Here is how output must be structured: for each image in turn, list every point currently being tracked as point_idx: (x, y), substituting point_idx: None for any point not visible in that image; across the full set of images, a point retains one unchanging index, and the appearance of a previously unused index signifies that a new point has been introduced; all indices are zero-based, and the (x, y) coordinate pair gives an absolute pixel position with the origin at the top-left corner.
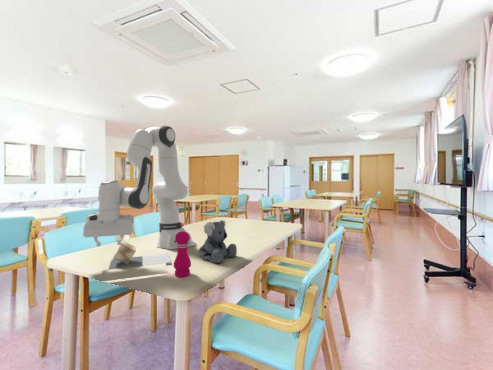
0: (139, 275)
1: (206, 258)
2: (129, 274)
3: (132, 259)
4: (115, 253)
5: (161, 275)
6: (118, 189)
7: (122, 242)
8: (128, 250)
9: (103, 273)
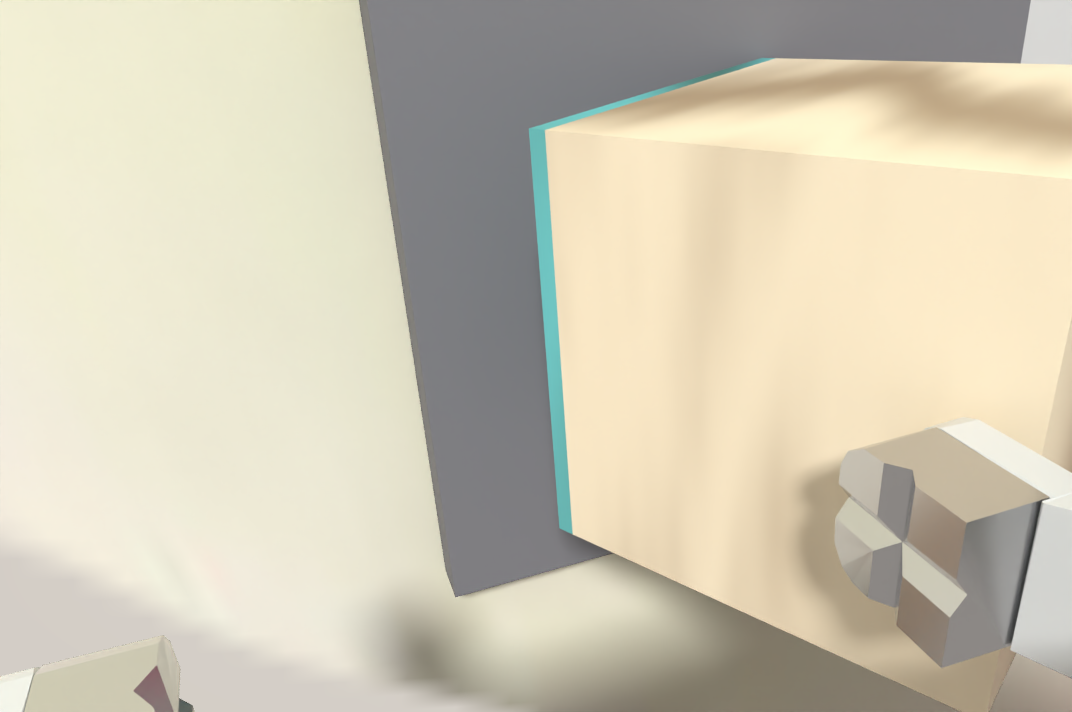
0: (857, 693)
1: None
2: (753, 666)
3: (846, 41)
4: (634, 437)
5: (1048, 691)
6: None
7: (1044, 454)
8: None
9: (384, 627)
